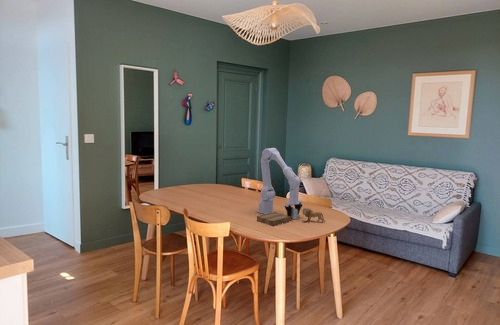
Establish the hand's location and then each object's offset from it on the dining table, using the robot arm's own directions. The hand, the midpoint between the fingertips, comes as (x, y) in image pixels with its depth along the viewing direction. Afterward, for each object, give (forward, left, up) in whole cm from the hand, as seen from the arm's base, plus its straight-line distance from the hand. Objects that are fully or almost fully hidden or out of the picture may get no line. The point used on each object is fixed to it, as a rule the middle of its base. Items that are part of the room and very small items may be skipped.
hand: (293, 215), depth 237 cm
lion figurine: (+13, +3, -2) cm, 14 cm away
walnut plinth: (-3, -15, -1) cm, 15 cm away
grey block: (0, 0, -2) cm, 2 cm away
